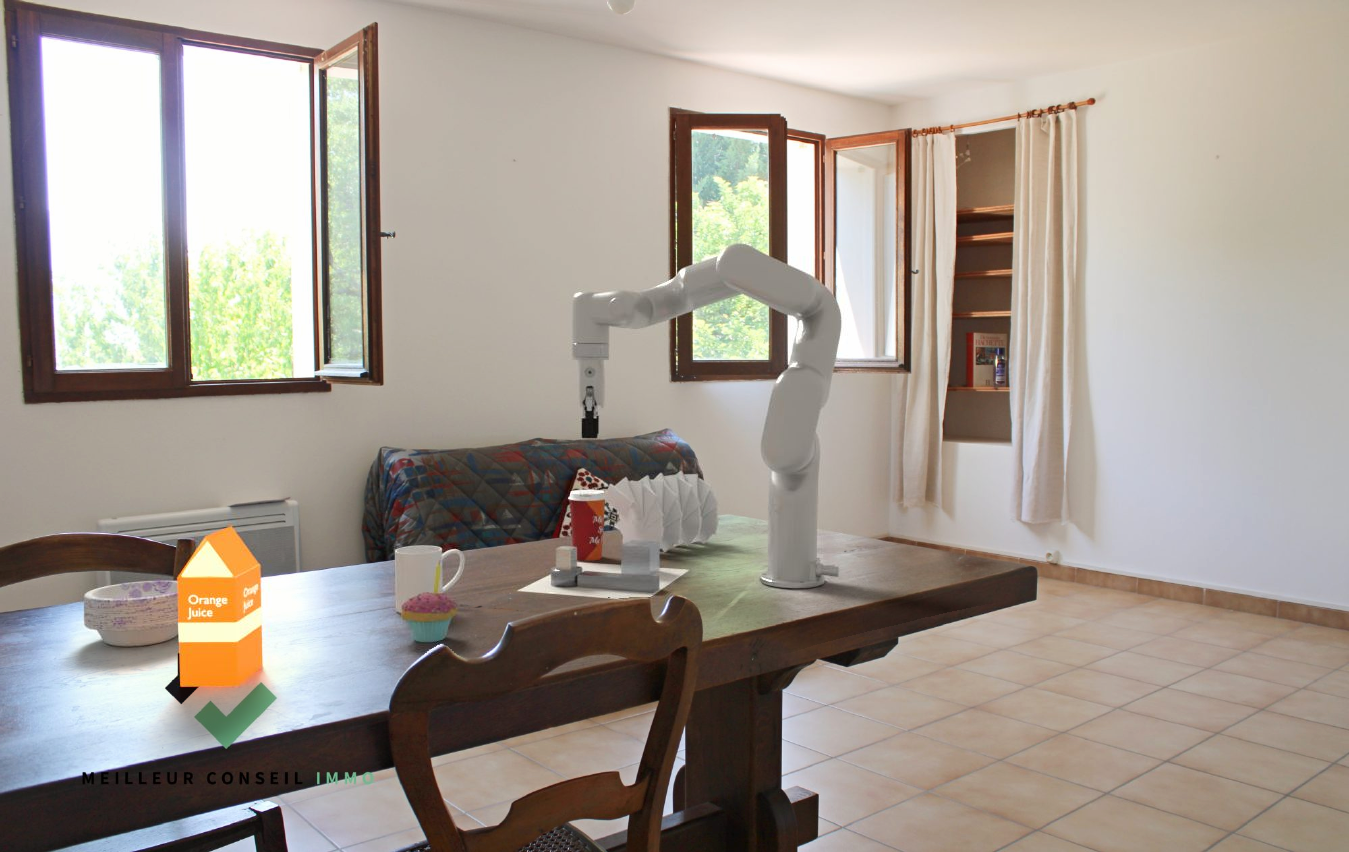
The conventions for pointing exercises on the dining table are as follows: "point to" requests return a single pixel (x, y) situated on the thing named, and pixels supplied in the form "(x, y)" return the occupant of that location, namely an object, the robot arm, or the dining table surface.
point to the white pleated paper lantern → (665, 509)
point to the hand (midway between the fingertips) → (590, 436)
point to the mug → (420, 571)
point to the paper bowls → (133, 612)
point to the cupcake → (429, 613)
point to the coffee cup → (587, 523)
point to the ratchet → (596, 576)
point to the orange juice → (220, 613)
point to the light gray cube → (640, 557)
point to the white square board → (545, 587)
